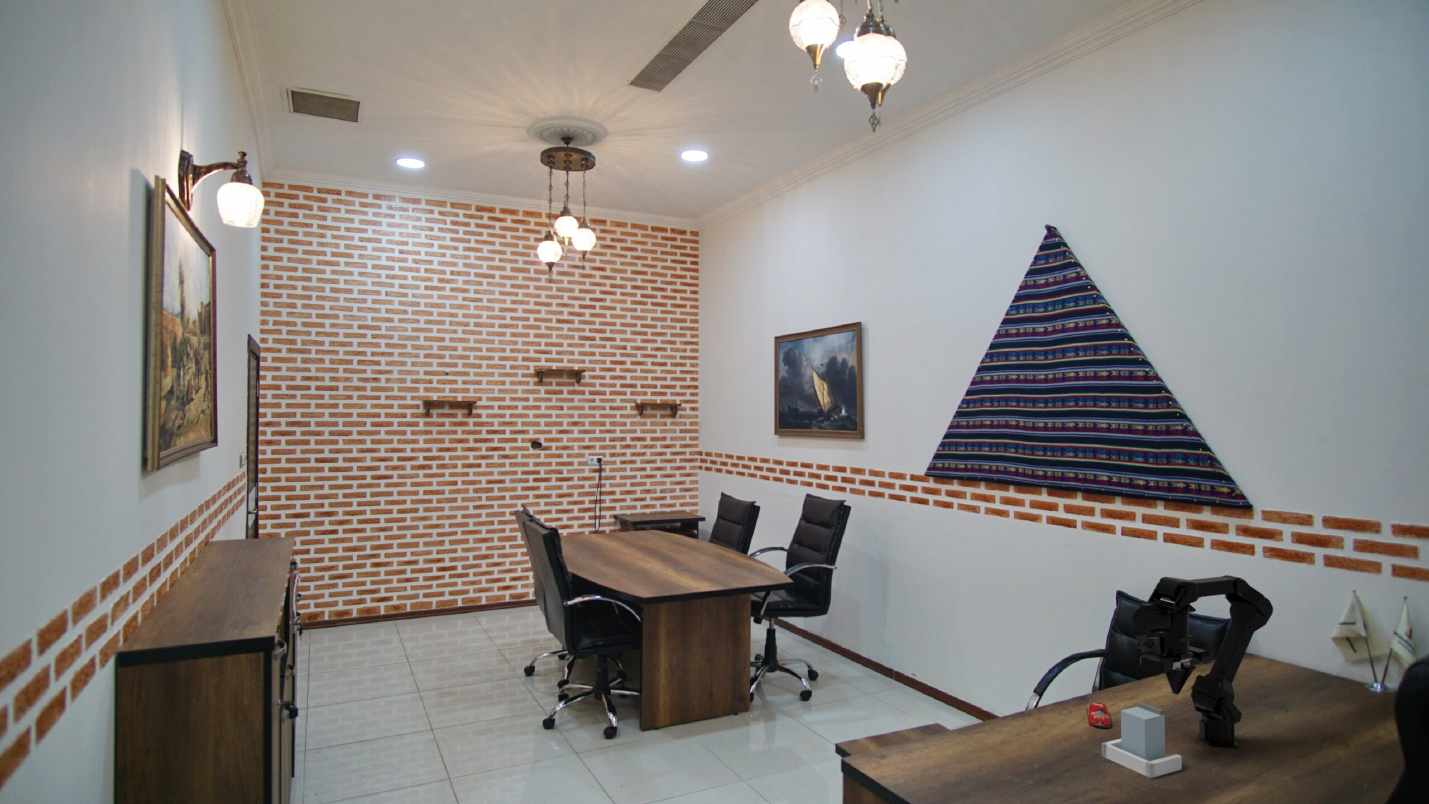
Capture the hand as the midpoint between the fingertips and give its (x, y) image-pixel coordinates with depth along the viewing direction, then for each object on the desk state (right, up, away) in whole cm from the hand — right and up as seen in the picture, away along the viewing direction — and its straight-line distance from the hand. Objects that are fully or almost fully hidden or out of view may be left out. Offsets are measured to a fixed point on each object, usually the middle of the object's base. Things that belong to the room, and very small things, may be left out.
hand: (1175, 693), depth 186 cm
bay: (-13, -13, -9) cm, 20 cm away
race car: (-11, -14, +17) cm, 24 cm away
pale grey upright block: (-13, -13, -9) cm, 20 cm away
